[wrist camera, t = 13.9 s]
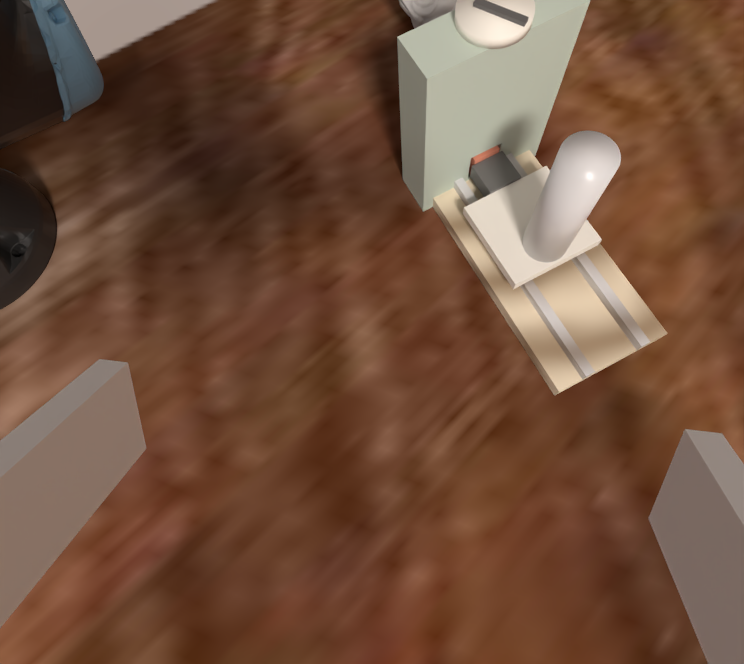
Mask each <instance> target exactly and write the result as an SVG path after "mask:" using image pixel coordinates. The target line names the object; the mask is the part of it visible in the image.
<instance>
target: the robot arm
mask: <svg viewBox="0 0 744 664" xmlns="http://www.w3.org/2000/svg"><path fill="white" fill-rule="evenodd" d="M103 88H104V82H103V77H102V74H101V72H100V70H99V68H98V65H97V63H96V61H95V59H94V57H93V55H92V53H91V51H90V49H89V47H88V45H87V44H86V42H85V40H84V38H83V36H82V34H81V32H80V30H79V28H78V26H77V24H76V22H75V20H74V19H73V16H72V15H71V13H70V11H69V9H68V7H67V5H66V3H65V1H64V0H0V149H2V148H4V147H6V146H8V145H11V144H13V143H15V142H17V141H20V140H22V139H24V138H26V137H28V136H31V135H33V134H35V133H37V132H40V131H42V130H44V129H46V128H49V127H51V126H53V125H55V124H58V123H60V122H62V121H64V122H65V121H67V120H69V119H70V118H71V115H73V114H74V113H76V112H78V111H80V110H82V109H83V108H85V107H87V106H89V105H90V104H92V103H94V102H96V101H97V100H98V99H99V98H100V96H101V95H102V92H103ZM55 238H56V222H55V216H54V213H53V210H52V208H51V206H50V204H49V202H48V201H47V199H46V198H45V197H44V195H43V194H42V193H41V192H39V191H38V190H37V189H36V188H35V187H33V186H32V185H31V184H30V183H28V182H27V181H26V180H25V179H23V178H22V177H20V176H18V175H17V174H15V173H13V172H11V171H8V170H6V169H2V168H0V309H2V308H4V307H5V306H7V305H9V304H10V303H12V302H13V301H15V300H16V299H18V298H19V297H20V296H21V295H23V294H24V293H25V292H26V291H27V290H28V289H29V288H30V287H31V286H32V285H33V284H34V283H35V281H36V280H37V279H38V278H39V276H40V275H41V273H42V272H43V270H44V269H45V267H46V265H47V263H48V261H49V259H50V257H51V254H52V251H53V248H54V243H55ZM145 449H146V445H145V440H144V435H143V431H142V426H141V421H140V417H139V412H138V407H137V403H136V398H135V393H134V389H133V384H132V379H131V375H130V370H129V365H128V363H127V362H119V361H110V360H102V359H99V360H98V361H97V362H95V363H94V364H93V365H92V366H91V367H89V368H88V369H87V370H86V371H84V372H83V373H82V374H81V375H80V376H78V377H77V378H76V379H75V380H74V381H72V382H71V383H70V384H69V385H67V386H66V387H65V388H64V389H63V390H61V391H60V392H59V393H58V394H57V395H55V396H54V397H53V398H52V399H50V400H49V401H48V402H47V403H46V404H44V405H43V406H42V407H41V408H39V409H38V410H37V411H36V412H35V413H33V414H32V415H31V416H30V417H29V418H27V419H26V420H25V421H24V422H22V423H21V424H20V425H19V426H18V427H16V428H15V429H14V430H13V431H12V432H10V433H9V434H8V435H7V436H5V437H4V438H3V439H2V440H1V441H0V628H1V627H2V625H3V624H4V623H5V622H6V620H7V619H8V618H9V617H10V615H11V614H12V613H13V612H14V611H15V609H16V608H17V607H18V606H19V604H20V603H21V602H22V601H23V599H24V598H25V597H26V596H27V595H28V593H29V592H30V591H31V590H32V588H33V587H34V586H35V585H36V583H37V582H38V581H39V580H40V579H41V577H42V576H43V575H44V574H45V572H46V571H47V570H48V569H49V567H50V566H51V565H52V564H53V563H54V561H55V560H56V559H57V558H58V556H59V555H60V554H61V553H62V552H63V550H64V549H65V548H66V547H67V545H68V544H69V543H70V542H71V540H72V539H73V538H74V537H75V536H76V534H77V533H78V532H79V531H80V529H81V528H82V527H83V526H84V524H85V523H86V522H87V521H88V520H89V518H90V517H91V516H92V515H93V513H94V512H95V511H96V510H97V508H98V507H99V506H100V505H101V504H102V502H103V501H104V500H105V499H106V497H107V496H108V495H109V494H110V493H111V491H112V490H113V489H114V488H115V486H116V485H117V484H118V483H119V481H120V480H121V479H122V478H123V477H124V475H125V474H126V473H127V472H128V470H129V469H130V468H131V467H132V465H133V464H134V463H135V462H136V461H137V459H138V458H139V457H140V456H141V454H142V453H143V452H144V451H145ZM648 519H649V521H650V523H651V526H652V528H653V531H654V533H655V536H656V538H657V540H658V543H659V545H660V548H661V550H662V553H663V555H664V557H665V560H666V562H667V565H668V567H669V570H670V572H671V574H672V577H673V579H674V582H675V584H676V587H677V589H678V591H679V594H680V596H681V599H682V601H683V604H684V606H685V608H686V611H687V613H688V616H689V618H690V621H691V623H692V626H693V628H694V630H695V633H696V635H697V638H698V640H699V643H700V645H701V647H702V650H703V652H704V655H705V657H706V660H707V662H708V664H744V464H743V463H742V461H741V460H740V458H739V457H738V456H737V454H736V453H735V451H734V450H733V448H732V447H731V446H730V444H729V443H728V441H727V440H726V439H725V437H724V436H723V434H721V433H713V432H705V431H696V430H688V429H685V430H684V433H683V435H682V437H681V440H680V442H679V445H678V447H677V450H676V452H675V455H674V457H673V460H672V462H671V464H670V467H669V469H668V472H667V474H666V477H665V479H664V482H663V484H662V487H661V489H660V491H659V494H658V496H657V499H656V501H655V504H654V506H653V509H652V511H651V514H650V516H649V518H648Z"/></svg>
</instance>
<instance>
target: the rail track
mask: <svg viewBox="0 0 744 664" xmlns="http://www.w3.org/2000/svg"><path fill="white" fill-rule="evenodd" d="M506 156H507V158H508V159H509V160H510V162H511V163H512V164H513V166H514V167H515V169H516V170H517V171H518V173H519V174H520V175H521V178H523V177H525V176H527V175H529V174H531V173H533V172H535V171H537V170H539V169H541V168H543V167H542V166H541V164H540V163H539V162H538V160H537V159H536V158H535V156H534V155H533V154H532V152H531V151H530V150H528V151H526V152H524V153H522V154H520V155H518V156H516V157H514V156H513V154H512V153H510V154H508V155H506ZM482 198H484V196H483V195H482V193H481V192H480V191H479V189H478V188H477V186H476V185H475V183H474V182H473V180H472V179H470V180H468V181H466V182H465V180H464V179H463V177H462V178H460V179H458V180H456V181H454V188H452V189H450V190H448V191H446V192H444V193H442V194H440V195H438V196H436V197H434V198H433V208H434V210H435V211H436V213H437V214H438V216H439V217H440V219H441V220H442V222H443V224H444V225H445V227H446V228H447V230H448V231H449V233H450V234H451V236H452V238H453V239H454V241H455V242H456V244H457V245H458V247H459V248H460V250H461V251H462V253H463V255H464V256H465V258H466V259H467V261H468V262H469V264H470V265H471V267H472V269H473V270H474V272H475V273H476V275H477V276H478V278H479V279H480V281H481V283H482V284H483V286H484V287H485V289H486V290H487V292H488V293H489V295H490V296H491V298H492V300H493V301H494V303H495V304H496V306H497V307H498V309H499V310H500V312H501V314H502V315H503V317H504V318H505V320H506V321H507V323H508V324H509V326H510V327H511V329H512V331H513V332H514V334H515V335H516V337H517V338H518V340H519V341H520V343H521V345H522V346H523V348H524V349H525V351H526V352H527V354H528V355H529V357H530V359H531V360H532V362H533V363H534V365H535V366H536V368H537V369H538V371H539V372H540V374H541V376H542V377H543V379H544V380H545V382H546V383H547V385H548V386H549V388H550V390H551V391H552V393H553V394H554V395H556V394H558V393H560V392H562V391H564V390H566V389H567V388H569V387H571V386H573V385H575V384H577V383H578V382H580V381H582V380H584V379H586V378H588V377H589V376H591V375H593V374H595V373H597V372H599V371H601V370H602V369H604V368H606V367H608V366H610V365H612V364H613V363H615V362H617V361H619V360H621V359H623V358H625V357H626V356H628V355H630V354H632V353H634V352H636V351H637V350H639V349H641V348H643V347H645V346H647V345H648V344H650V343H652V342H654V341H656V340H658V339H659V338H661V337H663V336H664V335H666V334H667V332H666V331H665V329H664V328H663V327H662V325H661V324H660V323H659V321H658V320H657V319H656V317H655V316H654V315H653V313H652V312H651V311H650V309H649V308H648V307H647V305H646V304H645V303H644V301H643V300H642V299H641V297H640V296H639V295H638V293H637V292H636V291H635V290H634V288H633V287H632V286H631V284H630V283H629V282H628V280H627V279H626V278H625V276H624V275H623V274H622V272H621V271H620V270H619V268H618V267H617V266H616V264H615V263H614V262H613V260H612V259H611V258H610V256H609V255H608V254H607V252H606V251H605V250H604V248H603V247H602V246H601V244H600V243H599V244H598V245H597V246H595V247H594V248H592V249H590V250H588V251H586V252H584V253H582V254H580V255H578V256H576V257H574V258H572V259H571V260H569V261H567V262H565V263H563V264H561V265H559V266H557V267H555V268H553V269H551V270H549V271H548V272H546V273H544V274H542V275H540V276H538V277H536V278H534V279H532V280H530V281H528V282H526V283H525V284H523V285H521V286H519V287H517V288H515V289H513V288H512V287H511V285H510V284H509V282H508V281H507V279H506V278H505V276H504V275H503V273H502V272H501V270H500V269H499V267H498V266H497V264H496V263H495V261H494V260H493V258H492V257H491V255H490V254H489V252H488V251H487V249H486V248H485V246H484V245H483V243H482V242H481V240H480V239H479V237H478V236H477V234H476V233H475V231H474V230H473V228H472V227H471V225H470V224H469V222H468V221H467V219H466V218H465V216H464V215H463V210H464V207H466V206H468V205H470V204H472V203H474V202H476V201H478V200H480V199H482Z"/></svg>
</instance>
